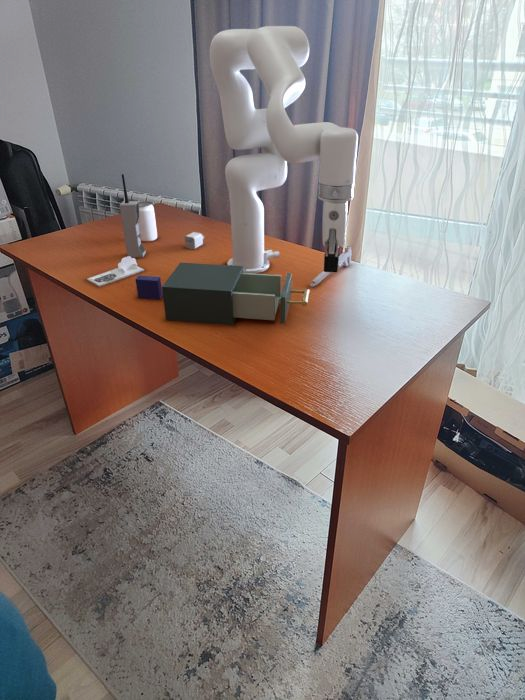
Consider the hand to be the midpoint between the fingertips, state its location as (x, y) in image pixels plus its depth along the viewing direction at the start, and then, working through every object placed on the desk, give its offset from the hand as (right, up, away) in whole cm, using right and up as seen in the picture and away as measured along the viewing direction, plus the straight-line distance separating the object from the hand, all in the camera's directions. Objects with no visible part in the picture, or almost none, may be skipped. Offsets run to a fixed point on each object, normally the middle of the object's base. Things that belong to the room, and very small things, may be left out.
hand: (330, 270), depth 116 cm
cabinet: (-30, -8, +11) cm, 33 cm away
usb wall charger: (-38, +16, +49) cm, 64 cm away
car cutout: (-59, +3, +29) cm, 65 cm away
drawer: (-15, -8, +8) cm, 19 cm away
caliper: (+4, +3, +28) cm, 28 cm away
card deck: (-46, -4, +17) cm, 49 cm away
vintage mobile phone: (-56, +11, +41) cm, 70 cm away
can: (-55, +19, +54) cm, 80 cm away
